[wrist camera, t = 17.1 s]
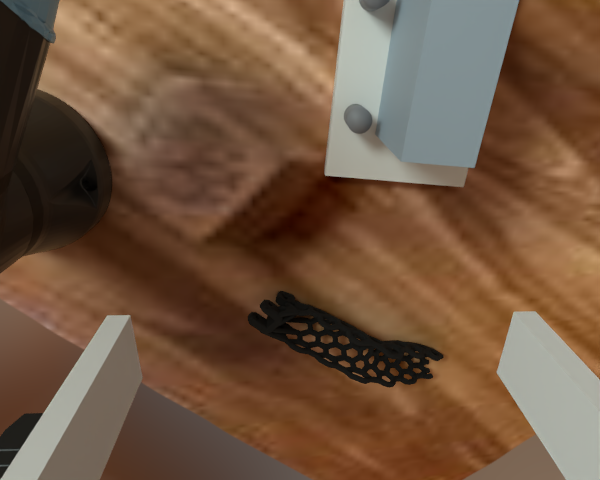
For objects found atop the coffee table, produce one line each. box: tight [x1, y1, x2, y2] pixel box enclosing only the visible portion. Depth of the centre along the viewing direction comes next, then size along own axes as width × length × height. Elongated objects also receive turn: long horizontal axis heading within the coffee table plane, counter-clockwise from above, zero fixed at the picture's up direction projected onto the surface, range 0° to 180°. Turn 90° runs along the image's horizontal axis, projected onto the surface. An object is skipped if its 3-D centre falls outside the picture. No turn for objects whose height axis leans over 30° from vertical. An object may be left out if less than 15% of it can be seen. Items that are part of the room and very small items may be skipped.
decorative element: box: [248, 291, 444, 387], centre depth 45 cm, size 22×5×6 cm, turn 68°
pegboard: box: [324, 0, 468, 187], centre depth 34 cm, size 20×13×4 cm, turn 175°
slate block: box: [375, 0, 519, 168], centre depth 30 cm, size 12×5×10 cm, turn 175°
